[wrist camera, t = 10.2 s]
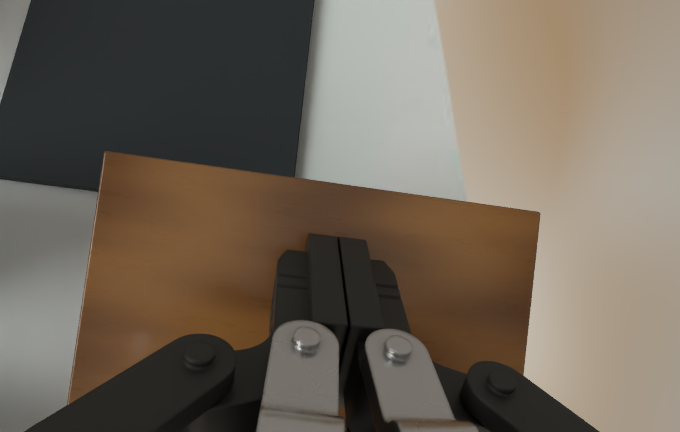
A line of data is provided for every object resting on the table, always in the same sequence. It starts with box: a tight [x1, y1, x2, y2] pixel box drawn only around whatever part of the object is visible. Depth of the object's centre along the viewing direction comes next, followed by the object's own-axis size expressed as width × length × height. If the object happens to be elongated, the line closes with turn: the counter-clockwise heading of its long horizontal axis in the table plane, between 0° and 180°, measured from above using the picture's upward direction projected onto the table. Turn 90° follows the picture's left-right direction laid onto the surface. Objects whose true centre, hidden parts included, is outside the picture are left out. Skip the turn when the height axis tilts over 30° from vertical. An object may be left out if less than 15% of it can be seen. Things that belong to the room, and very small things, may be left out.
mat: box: [0, 0, 314, 191], centre depth 36 cm, size 18×22×1 cm
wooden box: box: [67, 151, 540, 421], centre depth 19 cm, size 12×10×7 cm
